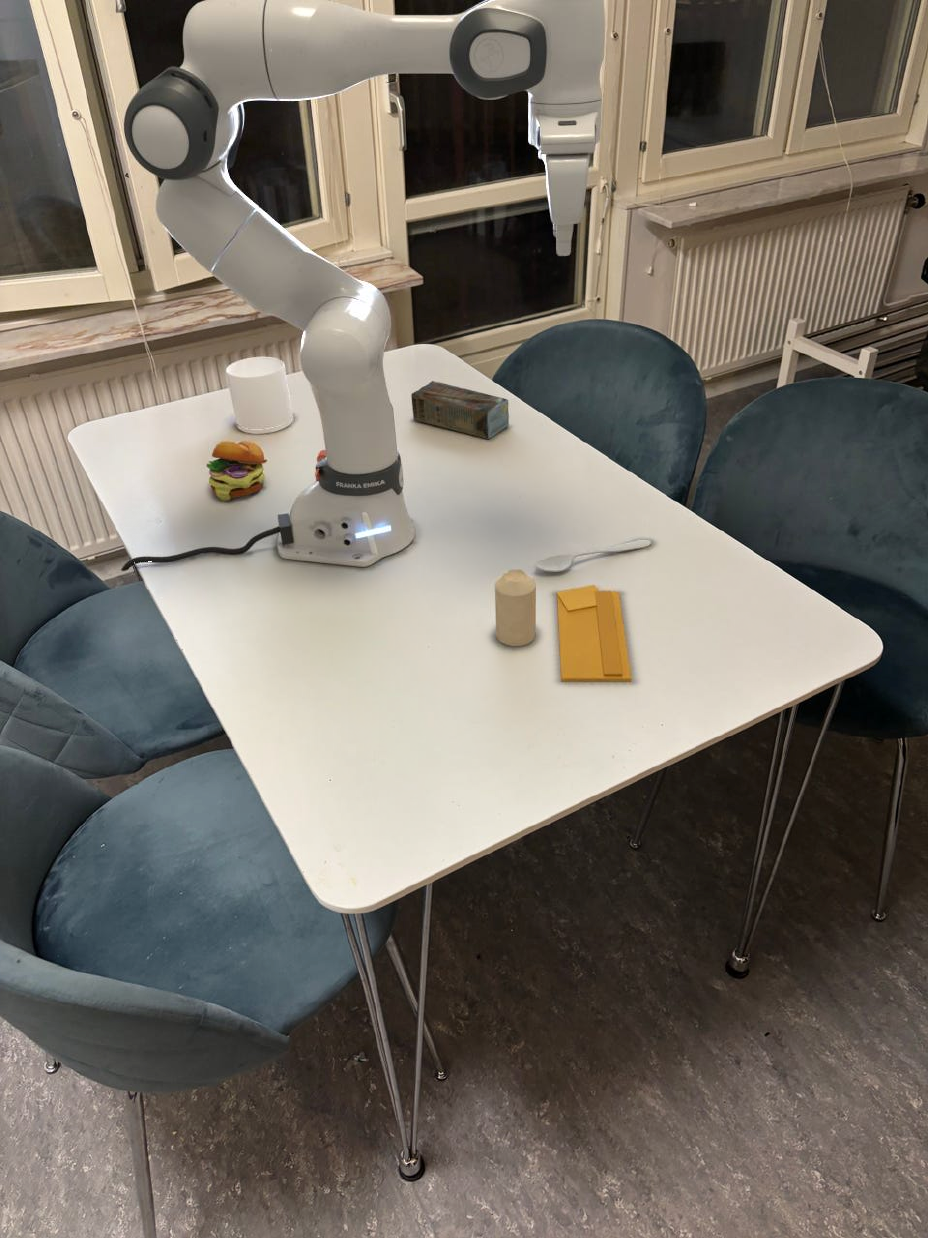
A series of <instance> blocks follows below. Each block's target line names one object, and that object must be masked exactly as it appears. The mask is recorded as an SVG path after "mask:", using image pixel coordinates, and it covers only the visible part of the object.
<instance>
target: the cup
mask: <svg viewBox="0 0 928 1238" xmlns="http://www.w3.org/2000/svg"><path fill="white" fill-rule="evenodd" d="M286 371H287V370H286V364H285V362H284V361H282V360H281V359H280V358H277V357H273V356H254V357H253V356H252V357H248V358H247V357H246V358H243V359H242V358H241V359H239V360H237V361H234V362H232V363H231V364H229V365H228V366H227V367H226V369H225V374H226V380H227V385H228V389H229V394H230V399H231V403H232V409H233V414H234V418H235V423H236V422H237V423H238V425H240V426H241V427H240V426H238V425H237V423H236V427H237V429H238V430H239V431H242V432H244V433H246V434H252V435H263V434H264V435H265V434H270V433H275V432H279V431H282V430H284V429H286V428H288V427H289V426H290V425H291V424H292V423H293V421H294V415H292V414H293V408H292V402H291V396H290V390H289V384H288V378H287V372H286ZM291 417H292V418H291ZM290 419H291V420H290ZM287 421H288V422H287ZM286 422H287V423H286ZM284 423H285V424H284ZM282 424H283V425H282ZM278 425H281V426H278ZM276 426H278V427H276ZM242 427H244V428H242ZM270 427H274V428H270ZM245 428H248V429H245ZM265 428H270V429H265ZM251 429H263V430H251Z"/></svg>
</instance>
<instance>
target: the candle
mask: <svg viewBox="0 0 928 1238" xmlns="http://www.w3.org/2000/svg"><path fill="white" fill-rule="evenodd" d="M494 601H495V602H494V605H495V607H494V608H495V634H496V638H497V640H498V641H499V642H500V643H501V644H503V645H505V646H509V647H521V646H522V647H523V646H526V645H528V644H531V642H532V641H533V640H534V639H535V637H536V634H537V633H536V632H537V631H536V630H537V628H536V625H537V624H536V623H537V621H536V620H537V582H536V580H535V579H534V578H533V577H532V576H530V575H529V574H527V573H526V572H525V571H523V569H519V568H518V569H510V570H508V571H506V572H505V573H503V574H502V575H500V576H499V577H497V578H496V580H495V581H494Z"/></svg>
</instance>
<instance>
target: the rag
mask: <svg viewBox="0 0 928 1238" xmlns="http://www.w3.org/2000/svg"><path fill="white" fill-rule="evenodd" d="M556 603H557V604H556V605H557V621H558V622H557V624H558V641H559V643H558V644H559V660H560V661H559V663H560V680H561V682H632V674H631V668H630V667H631V666H630V660H629V654H628V646H627V640H626V634H625V633H626V632H625V626H624V621H623V614H622V613H623V612H622V606H621V598H620V593H619V591H615V590H614V591H612V590H599V589H598V588H597V586H596V585H595V584H592V585H587V586H580V587H575V588H570V589H565V590H560V591H556Z"/></svg>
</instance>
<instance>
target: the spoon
mask: <svg viewBox="0 0 928 1238" xmlns="http://www.w3.org/2000/svg"><path fill="white" fill-rule="evenodd" d="M651 543H652V542H651V540H649V539H637V540H634V541H630V542H624V543H620V544H617V545H611V546H606V547H601V548H596V549H592V550H591V549H590V550H586V551H577V552H570V553H565V554H557V555H553V556H549V557H546V558H543V559H540V560H536V561H535V562H534V565H533V567H534V568H536V569H538V570H541V571H545V572H552V573H554V572H555V573H558V572H564V571H566V570H568V569H569V568H570V567H571V566H572V565H573V562H574V560H575V559H576V558H577V557H580V556H588V555H593V554H600V553H603V554H604V553H617V552H627V551H632V550H638V549H643V548H648V547H649V546H650V545H651Z"/></svg>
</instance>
